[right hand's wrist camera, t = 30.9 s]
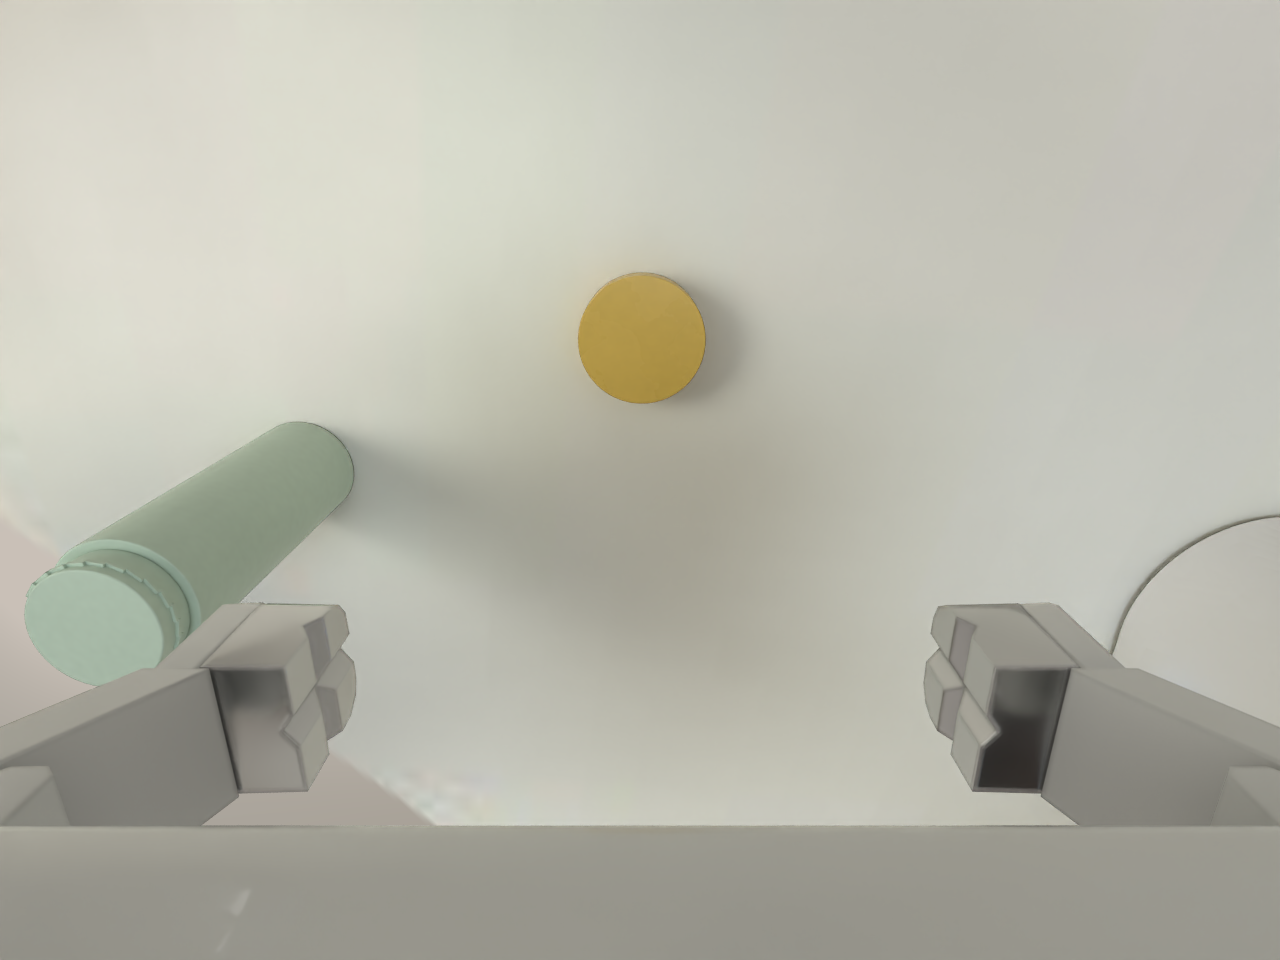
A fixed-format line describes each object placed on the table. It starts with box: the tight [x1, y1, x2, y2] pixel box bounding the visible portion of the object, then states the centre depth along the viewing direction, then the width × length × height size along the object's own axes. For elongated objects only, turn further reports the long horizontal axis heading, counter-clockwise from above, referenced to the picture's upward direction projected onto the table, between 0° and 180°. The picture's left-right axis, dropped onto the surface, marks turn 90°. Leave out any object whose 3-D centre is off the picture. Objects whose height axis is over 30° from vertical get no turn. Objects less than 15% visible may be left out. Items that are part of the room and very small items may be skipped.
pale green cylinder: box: [24, 422, 354, 686], centre depth 30 cm, size 5×5×16 cm
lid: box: [578, 273, 706, 403], centre depth 34 cm, size 6×6×2 cm
